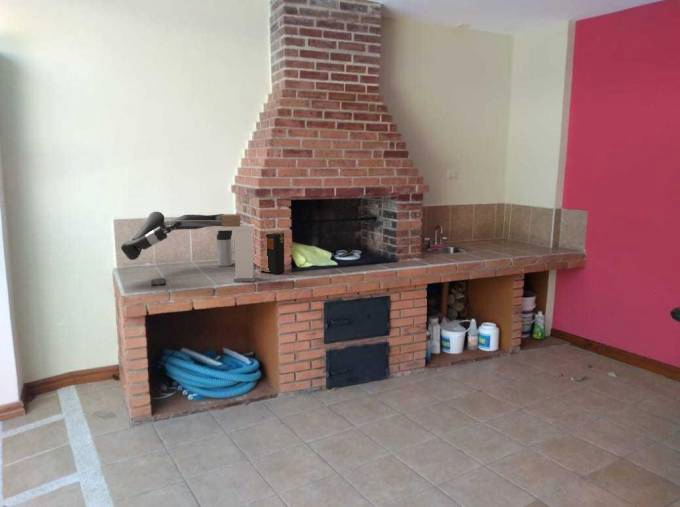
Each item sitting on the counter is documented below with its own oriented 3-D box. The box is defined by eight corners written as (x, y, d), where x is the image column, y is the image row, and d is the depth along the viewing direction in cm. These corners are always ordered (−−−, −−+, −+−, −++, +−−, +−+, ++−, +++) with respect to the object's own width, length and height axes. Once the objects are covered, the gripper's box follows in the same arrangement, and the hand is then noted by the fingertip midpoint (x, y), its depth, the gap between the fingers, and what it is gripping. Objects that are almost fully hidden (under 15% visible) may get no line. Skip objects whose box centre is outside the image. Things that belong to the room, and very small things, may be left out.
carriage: (175, 225, 308) (175, 214, 307) (240, 224, 313) (240, 214, 312) (174, 227, 301) (173, 216, 300) (239, 226, 306) (239, 215, 305)
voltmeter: (286, 272, 336) (285, 232, 331) (277, 275, 329) (277, 234, 324) (266, 269, 344) (265, 230, 339) (257, 272, 336) (256, 232, 332)
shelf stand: (213, 278, 319) (212, 224, 312) (255, 277, 322) (254, 224, 316) (212, 282, 309) (210, 227, 303) (255, 281, 312) (254, 226, 306)
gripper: (162, 239, 312) (187, 225, 313) (158, 243, 298) (184, 229, 299) (155, 228, 310) (179, 214, 311) (150, 232, 296) (176, 217, 297)
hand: (181, 221), depth 305 cm, fingers open, 8 cm apart
